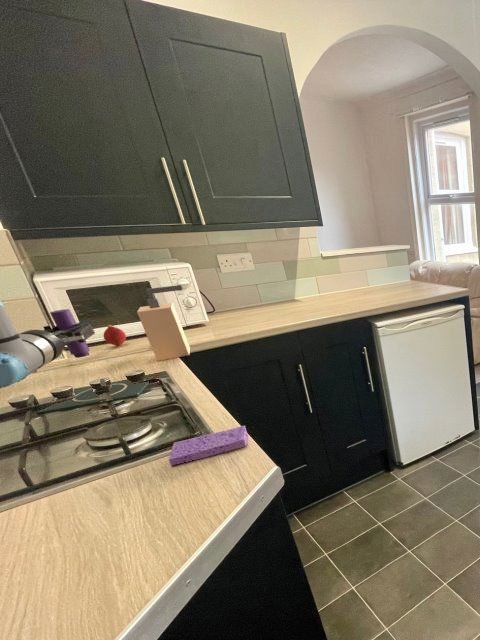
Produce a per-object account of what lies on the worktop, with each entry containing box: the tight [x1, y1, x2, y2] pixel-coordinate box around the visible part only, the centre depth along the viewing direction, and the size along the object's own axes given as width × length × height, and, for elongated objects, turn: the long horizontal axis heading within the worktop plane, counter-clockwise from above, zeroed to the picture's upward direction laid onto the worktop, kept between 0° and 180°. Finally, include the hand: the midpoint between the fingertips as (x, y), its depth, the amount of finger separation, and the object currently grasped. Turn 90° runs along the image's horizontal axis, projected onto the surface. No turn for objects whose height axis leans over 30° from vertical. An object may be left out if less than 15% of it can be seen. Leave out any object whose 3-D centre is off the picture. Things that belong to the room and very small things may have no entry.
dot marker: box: [49, 308, 90, 359], centre depth 107 cm, size 4×4×12 cm
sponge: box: [168, 425, 248, 466], centre depth 83 cm, size 7×13×2 cm, turn 119°
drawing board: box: [36, 375, 155, 415], centre depth 112 cm, size 20×15×1 cm
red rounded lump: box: [103, 324, 127, 347], centre depth 151 cm, size 6×6×8 cm
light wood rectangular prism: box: [136, 284, 191, 362], centre depth 137 cm, size 13×9×22 cm
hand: (78, 325), depth 112 cm, fingers closed on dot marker, 4 cm apart
